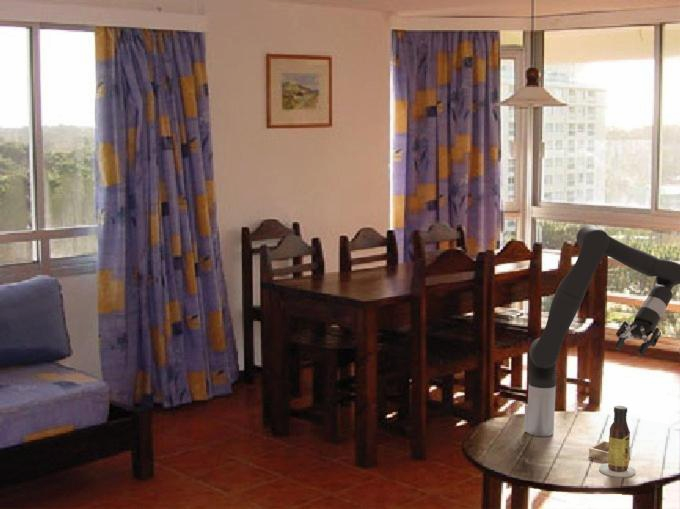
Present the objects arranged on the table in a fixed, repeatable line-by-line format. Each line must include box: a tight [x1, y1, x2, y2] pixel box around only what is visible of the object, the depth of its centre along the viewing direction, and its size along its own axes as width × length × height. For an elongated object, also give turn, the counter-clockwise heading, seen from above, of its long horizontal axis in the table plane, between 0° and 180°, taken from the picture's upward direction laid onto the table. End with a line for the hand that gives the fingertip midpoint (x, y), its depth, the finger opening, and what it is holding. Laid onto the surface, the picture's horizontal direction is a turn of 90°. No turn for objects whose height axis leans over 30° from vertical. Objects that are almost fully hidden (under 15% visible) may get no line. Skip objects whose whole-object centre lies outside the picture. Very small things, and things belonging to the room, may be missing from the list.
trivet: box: [598, 462, 636, 478], centre depth 331 cm, size 11×11×1 cm
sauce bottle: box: [607, 405, 631, 472], centre depth 330 cm, size 7×6×20 cm
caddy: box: [588, 440, 631, 463], centre depth 344 cm, size 9×10×3 cm
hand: (628, 351), depth 350 cm, fingers open, 8 cm apart
